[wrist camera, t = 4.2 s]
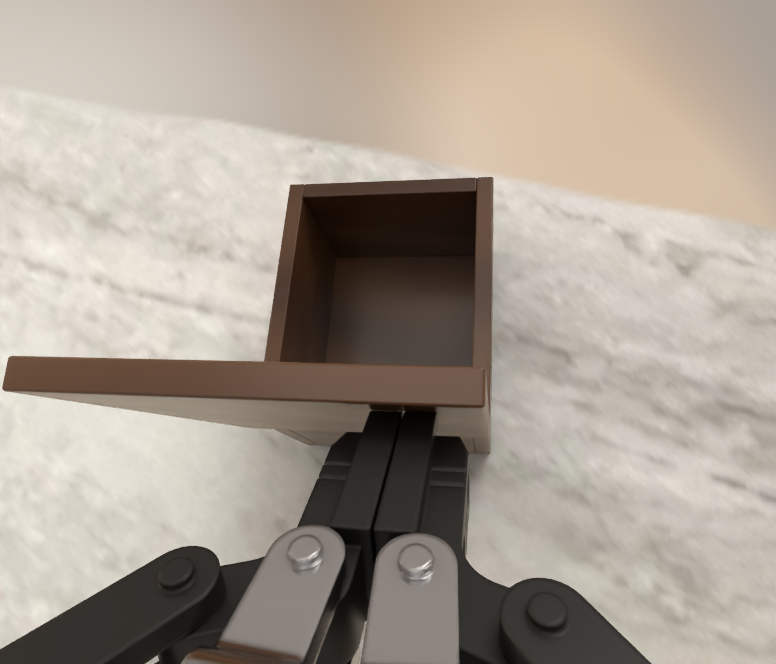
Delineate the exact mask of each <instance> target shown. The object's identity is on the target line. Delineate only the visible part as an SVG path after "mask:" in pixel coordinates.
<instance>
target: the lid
mask: <svg viewBox="0 0 776 664" xmlns="http://www.w3.org/2000/svg"><path fill="white" fill-rule="evenodd" d="M2 389H3V390H4V391H7V392H14V393H20V394H27V395H34V396H40V397H47V398H54V399H60V400H67V401H74V402H81V403H87V404H94V405H101V406H107V407H114V408H121V409H127V410H134V411H141V412H147V413H154V414H161V415H167V416H174V417H181V418H187V419H194V420H201V421H208V422H214V423H221V424H228V425H234V426H241V427H248V428H262V429H283V430H305V431H326V432H363V429H364V426H365V423H366V420H367V418H368V415H369V412H370V411H371V410H372V411H399V412H403V413H404V412H430V413H438V422H439V436H458V437H460V438H477V439H489V437H490V418H489V406H488V393H487V381H486V370H485V368H484V367H474V366H431V365H387V364H343V363H299V362H255V361H211V360H168V359H124V358H80V357H36V356H11V357H9V358H8V362H7V367H6V372H5V377H4V382H3V387H2Z"/></svg>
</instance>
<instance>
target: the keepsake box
mask: <svg viewBox="0 0 776 664" xmlns="http://www.w3.org/2000/svg"><path fill="white" fill-rule="evenodd" d="M492 295H493V177H482V178H458V179H432V180H407V181H381V182H355V183H330V184H306V185H304V184H300V185H290V191H289V197H288V204H287V211H286V218H285V224H284V231H283V238H282V245H281V251H280V258H279V265H278V272H277V279H276V285H275V292H274V299H273V306H272V312H271V319H270V326H269V333H268V339H267V346H266V353H265V360H264V362H299V363H343V364H387V365H431V366H474V367H484V368H485V370H486V381H487V393H488V406H489V418H490V437H489V439H477V438H461V440H462V441H463V443H464V445H465V447H466V449H467V450H468V453H478V454H490V443H491V369H492ZM275 430H277V431H279V432H281V433H283V434H285V435H288V436H290V437H292V438H294V439H296V440H298V441H301V442H303V443H305V444H307V445H322V446H332V445H333V444H334V443H335V442H336V441H337V440H338V439H339V438H340V437H341V436H343V435H344V434H345V433H346V432H326V431H305V430H283V429H275Z"/></svg>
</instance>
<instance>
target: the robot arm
mask: <svg viewBox="0 0 776 664" xmlns="http://www.w3.org/2000/svg"><path fill="white" fill-rule="evenodd" d="M468 516H469V458H468V450H467V449H466V447H465V445H464V443H463V441H462V440H461V438H460V437H458V436H439V422H438V413H430V412H404V413H403V412H399V411H372V410H371V411H370V412H369V415H368V418H367V420H366V423H365V426H364V429H363V432H346V433H345V434H344V435H343V436H341V437H340V438H339V439H338V440H337V441H336V442H335V443H334V444H333V445H332V446H331V448H330V451H329V453H328V455H327V458H326V460H325V465H323V467H322V470H321V472H320V474H319V479H317V481H316V484H315V486H314V489H313V491H312V493H311V496H310V498H309V500H308V503H307V505H306V507H305V510H304V512H303V515H302V517H301V519H300V522H299V524H298V526H297V528H294V529H292V530H290V531H288V532H286V533H284V534H283V535H281V536H280V537H279V538H278V539H277V540H276V541H275V542H274V543H273V544H272V546H271V547H270V549H269V550H268V552H267V554H266V556H264V557H262V558H259V559H255V560H251V561H246V562H240V563H235V564H230V565H224V566H220V564H219V560H218V558H217V556H216V555H215V554H214V553H213V552H212V551H211V550H209V549H207V548H204V547H199V546H187V547H181V548H178V549H174V550H172V551H169V552H167V553H165V554H163V555H161V556H160V557H158V558H156V559H155V560H153V561H151V562H149V563H148V564H146V565H144V566H143V567H141V568H139V569H137V570H136V571H134V572H132V573H131V574H129V575H127V576H125V577H124V578H122V579H120V580H119V581H117V582H115V583H113V584H112V585H110V586H108V587H107V588H105V589H103V590H101V591H100V592H98V593H96V594H95V595H93V596H91V597H89V598H88V599H86V600H84V601H83V602H81V603H79V604H77V605H76V606H74V607H72V608H71V609H69V610H67V611H65V612H64V613H62V614H60V615H59V616H57V617H55V618H53V619H52V620H50V621H48V622H47V623H45V624H43V625H41V626H40V627H38V628H36V629H35V630H33V631H31V632H29V633H28V634H26V635H24V636H23V637H21V638H19V639H17V640H16V641H14V642H12V643H10V644H9V645H7V646H5V647H4V648H2V649H0V664H145V663H147V662H148V661H150V660H151V659H152V658H154V657H155V656H157V655H158V658H159V661H158V662H156V663H155V664H359V660H360V649H359V644H360V640H361V636H362V632H363V627H364V623H365V621H367V623H366V630H365V637H364V643H363V650H362V657H361V663H360V664H651V663H650V662H649V661H648V660H647V659H646V658H645V657H644V656H643V655H642V654H641V653H640V652H639V651H638V650H637V649H636V648H635V647H634V646H633V645H632V644H631V643H630V642H629V641H628V640H627V639H626V638H624V637H623V636H622V635H621V634H620V633H619V632H618V631H617V630H616V629H615V628H614V627H613V626H612V625H611V624H610V623H609V622H608V621H607V620H606V619H605V618H604V617H603V616H602V615H601V614H600V613H599V612H598V611H597V610H596V609H595V608H594V607H593V606H592V605H591V604H590V603H589V602H588V601H586V600H585V599H584V598H583V597H582V596H581V595H580V594H579V593H578V592H577V591H575V590H574V589H572V588H571V587H569V586H568V585H566V584H563V583H561V582H558V581H555V580H552V579H546V578H531V579H527V580H523V581H521V582H518V583H516V584H515V585H513V586H512V587H511V588H508V587H505V586H503V585H500V584H497V583H495V582H493V581H490V580H488V579H486V578H485V577H483V576H482V575H480V574H479V573H478V572H476V571H475V570H474V569H473V568H472V567H471V565H470V564H469V563H468V561H467V560H466V548H467V532H468Z"/></svg>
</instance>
